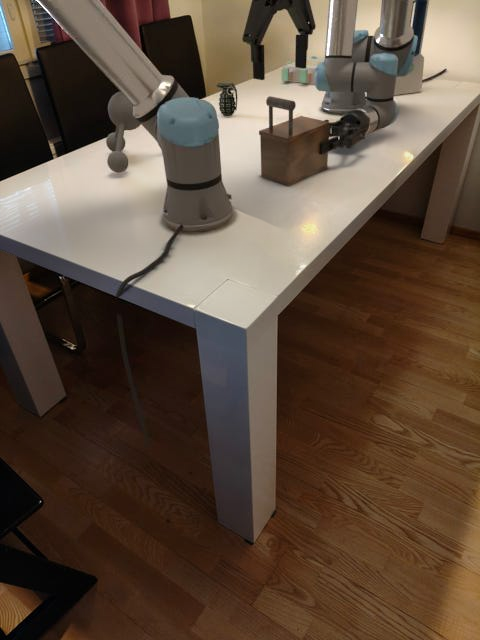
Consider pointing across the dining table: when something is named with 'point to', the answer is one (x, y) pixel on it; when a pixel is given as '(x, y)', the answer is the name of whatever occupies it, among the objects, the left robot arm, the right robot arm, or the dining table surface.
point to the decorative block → (301, 71)
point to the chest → (293, 157)
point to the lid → (290, 122)
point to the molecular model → (119, 130)
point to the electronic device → (415, 75)
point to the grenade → (227, 99)
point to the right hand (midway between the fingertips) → (305, 144)
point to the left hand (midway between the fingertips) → (280, 73)
